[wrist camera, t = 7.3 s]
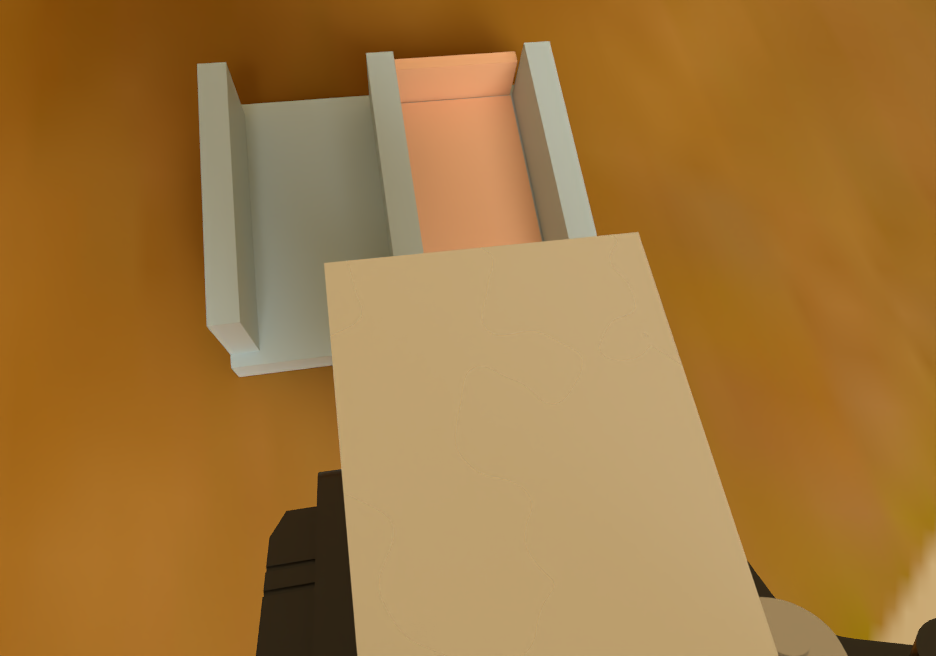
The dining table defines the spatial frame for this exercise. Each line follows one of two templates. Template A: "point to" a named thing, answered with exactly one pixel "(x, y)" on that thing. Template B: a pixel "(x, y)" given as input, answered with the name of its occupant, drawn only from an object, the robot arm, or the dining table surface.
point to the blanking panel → (529, 460)
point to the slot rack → (373, 186)
